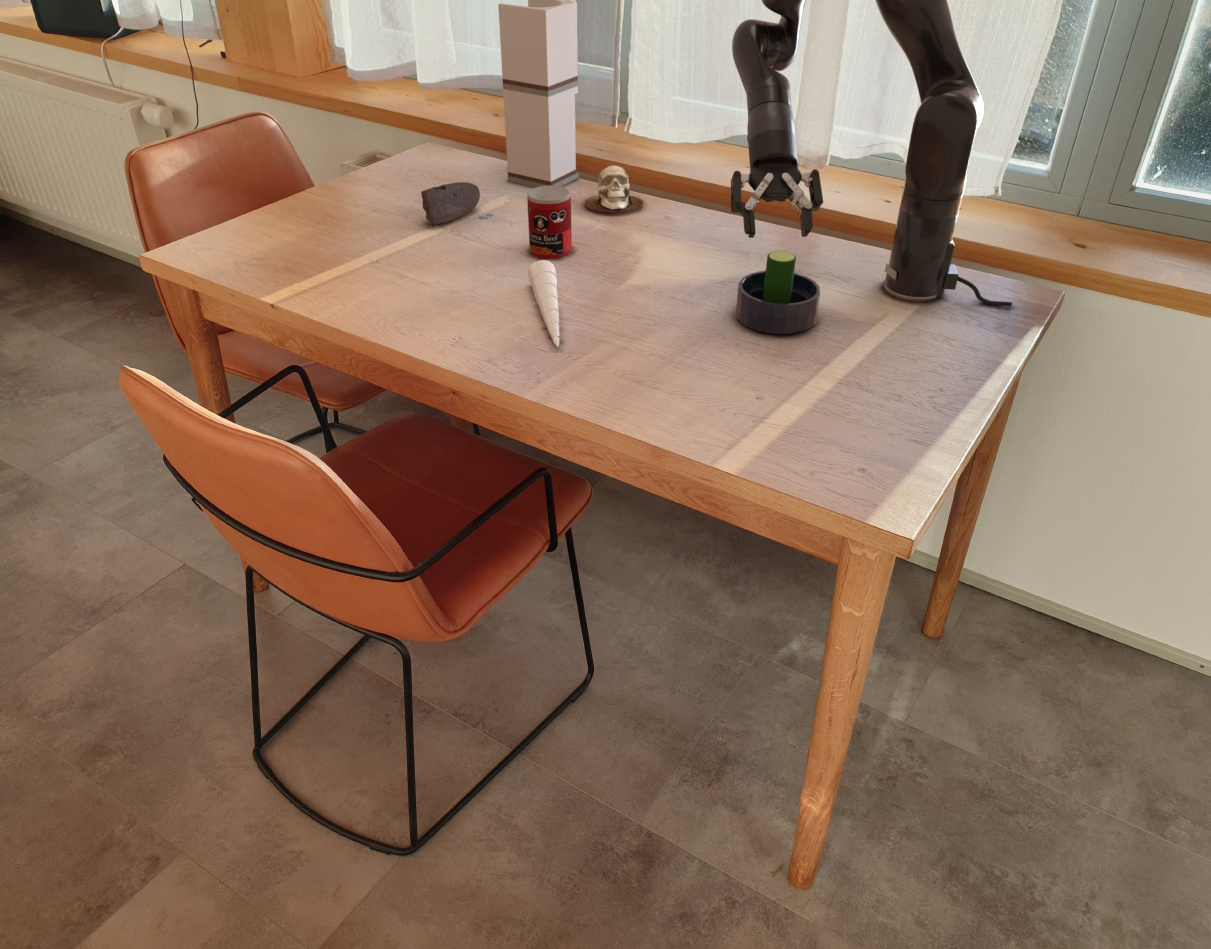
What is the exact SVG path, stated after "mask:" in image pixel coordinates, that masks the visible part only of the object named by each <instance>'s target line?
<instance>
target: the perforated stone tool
mask: <svg viewBox="0 0 1211 949" xmlns="http://www.w3.org/2000/svg"><path fill="white" fill-rule="evenodd" d="M420 193H421V200H422V204H421V206H422V209H423V210H424V212H425V218H426V220H427V222H429V223H430V224H431V225H433V226H435V225H440V224H445V223H449V222H452V221H454V220H456V219H458V218H460V217H463V216H465V215H467V214H469V213H470V212H471V211H473V210H474V209H475V208H476V206H477V205H478V204H479V202H480V199H481V198H480V197H481V193H480V188H479V186H477V185H476V184H474V183H471V182H466V181H457V182H451V183H445V184H440V185H438V186H432V187H430V188H426V189H424V190H421V192H420Z"/></svg>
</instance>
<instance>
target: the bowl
mask: <svg viewBox="0 0 1211 949" xmlns="http://www.w3.org/2000/svg"><path fill="white" fill-rule="evenodd" d="M765 273H766V270H760V271H756V272H751V273H748V274H747V275H745V276H743V277H741V279H740V280H739V282H738V284H737V295H736V305H735V316H736V318H737V319H738V320H739V322H740V323H742V324H743V325H745V326H746V327H748V328H750V329H753V330H754V331H758V332H760V333H763V334H764V333H765V334H771V335H790V334H795V333H799V332H802V331H806V330H808V329H809V328H811V327H813V326H814V325H815V323H816V322H817V318H818V313H819V306H820V299H821V293H822V290H821V286H820V285H819V284H818V283H817V282H816V281H815V280H814V279H812V278H810V277H808V276H806V275H803V274H801V273H797V272H794V277H793V285H792V292H791V300H790V303H789V304H784V303H772V302H767V301H762V300H763V291H764V282H765Z"/></svg>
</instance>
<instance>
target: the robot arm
mask: <svg viewBox="0 0 1211 949" xmlns="http://www.w3.org/2000/svg"><path fill="white" fill-rule="evenodd" d="M761 2H762V4H763V5H764V7H765V8H766V9H768V10H769V11H771V12H773V13H774V14H776V15H779V16H780V19H779V21H778V23H777V22H771V21H766V20H762V19H761V20H760V19H754V18H753V19H752V18H751V19H745V20H744V21H742V22H740V23H739V25H738V26H737V27H736V29H735V30H734V32H733V36H732V42H731V52H732V58H733V62H734V65H735V68H736V70H737V74H738V75H739V79H740V81H741V84H742V86H743V89H744V91H745V95H746V109H747V127H746V128H747V129H746V130H747V131H746V132H747V137H746V139H747V144H748V158H749V173H741V171H739V170H735V171H733V174H732V177H731V179H730V211H731V212H732V213H733V214H736V213H739V214H741V215H742V218H743V219H742V220H743V231H744V234H745V235H748V238H749V239H752V238H754V237H755V235H756V218H755V210H754V209H755V208H756V207H757V205H758V204H759V202H760V201H761V200H762V201H764V202H765V203H771V202H774V201H775V202H780V203H785V202H786V201H788V202H789V204H791V206H792V207H795V208H796V209H797V210H798V212H799V213H800V215H799V220H800V233H801V235H800V236H801V237H802V238H807V237H808V235H809V234H810V233H811V232H812V230H813V227H814V225H813V224H814V223H813V212H818V211H819V210H820V208H821V206H822V205H823V203H824V197H823V196H824V195H823V190H822V184H821V178H820V172H819V170H818V169H815V168H814V169H812V170H811V171H810V172H801V170H800V168H799V162H798V161H799V159H798V149H797V137H796V125H795V118H794V114H793V107H792V105H793V104H792V92H791V84H790V82H789V79H788V77H787V76H785V75H784V74H783V73H781V72H782V71H785V70H786V69H788V68H789V67H790V66H791V65H792V63H793V62H794V60H795V59H796V56H797V54H798V50H799V42H800V41H799V40H800V33H801V26H802V21H803V15H804V10H805V5H806V3H807V0H761ZM875 3H876V6H877V9H878V12H879V14H880V16H881V18H882V20H883V22H884V24H885V25H886V27H887V29H888V30H889V32H890V34H891V35H892V36H893V38H894V39H895V41H896V43H897V44H898V46H899V47H900V49H901V50H902V52H903V53H904V54H905V57H906V58H907V61H908V62H909V65H910V67H911V71H912V73H913V76H914V77H913V78H914V80H915V83H916V87H917V92H918V96H919V100H920V103H921V104H920V105H919V107H918V108H917V110H916V112H915V116H914V118H913V124H912V128H911V133H910V138H909V143H908V149H907V155H906V161H905V167H904V183H903V188H902V194H901V199H900V204H899V209H898V215H897V219H896V224H895V229H894V235H893V240H892V243H891V244H892V245H891V250H890V253H889V254H890V255H889V260H888V264H887V263H886V264H885V268H884V272H885V273H886V274H885V280H884V283H883V289H884V291H885V292H886V293H887V294H889V296H892V297H894V298H897V299H900V300H903V301H904V300H905V301H909V302H929V301H934V300H942V299H943V297H944V292H945V290H956V288H957V285H958V284H957V283H958V282H959V283H961V284H963V285H965V286H967V287H969V288H970V289H971V290H972V291H973V292H974V295H975V297H976V299H977V300H978V301H979V302H981V303H983V304H985V305H990V306H996V307H997V306H999V307H1012V306H1013V302H1012V301H1003V300H1001V301H997V300H990V299H987V298H985V297H983V296H982V295H981V293H980V291H979V289H978V287H977V286H976V285H975V284H974V283H972V282H971V281H969V280H968V279H965V278H963V277H961V276H960V274H959V271H958V270H957V267H956V265H955V264H954V263H952V260H953V255H954V250H955V243H954V240H953V239H954V234H955V231H956V225H957V221H958V218H959V213H960V209H961V204H962V199H963V196H964V192H965V187H966V183H967V175H968V168H969V163H970V159H971V155H972V150H973V147H974V146H973V145H974V142H975V138H976V133H977V131H978V128H979V127H980V125H981V123H982V120H983V117H984V110H985V109H984V101H983V97H982V95H981V93H980V90H979V88H978V86H977V84H976V82H975V79H974V77H973V75H972V72H971V71H970V68H969V66H968V64H967V62H966V59H965V57H964V55H963V53H962V51H961V48H960V46H959V43H958V39H957V36H956V32H955V28H954V24H953V23H954V22H953V18H952V15H951V11H950V10H951V9H950V6H949V2H948V0H875ZM802 182H803V183H804V186H805V187H806V188H808V193H809V198H808V197H807V196H806V195H805V192H804V190H802V188H801V187H800V186H799V185H800V183H802ZM746 184H748V185H749V187H751V189H752V190H753V193H752V194H751V196H750V198H749V199H748V201H747V202H743V201H742V189H744V187H745V185H746Z"/></svg>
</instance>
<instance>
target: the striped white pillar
mask: <svg viewBox="0 0 1211 949" xmlns="http://www.w3.org/2000/svg"><path fill="white" fill-rule="evenodd" d="M497 6H498V22H499V43H500V57H501V58H500V62H501V77H502V78H501V79H502V95H503V96H502V97H503V112H504V130H505V144H506V145H505V147H506V148H505V149H506V165H507V167H506V168H507V181H508V182H510V183H514V184H519V185H523V186H527V187H532V188H536V187H540V186H560V187H563V186H565V185H566V184H568V183H571V182H572V181H575V180H576V179H578V178H580V168H579V167H577V164H576V163H577V160H576V159H577V158H576V156H577V155H576V154H577V153H576V94H578V93H579V72H578V71H579V68H578V66H579V65H578V64H579V63H578V61H579V60H578V59H579V58H578V56H579V54H578V2H577V1H574V0H527V6H525V5H524V6H523V5H518V4H517V5H516V4H509V3H501V2H500V3H498V5H497Z"/></svg>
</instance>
